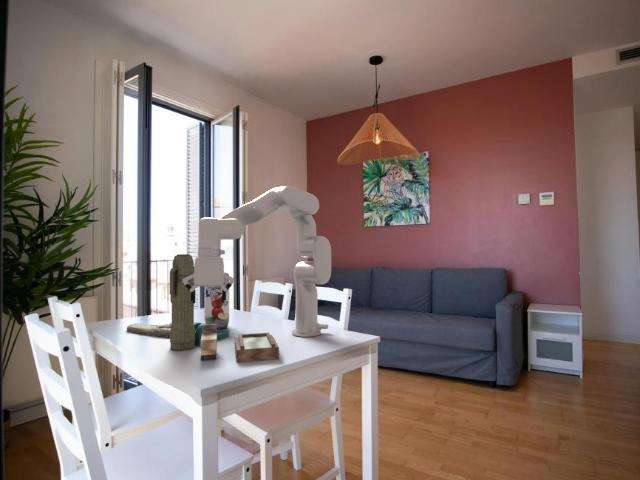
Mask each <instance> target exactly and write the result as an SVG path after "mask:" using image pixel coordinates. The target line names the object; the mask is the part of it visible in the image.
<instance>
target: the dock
mask: <svg viewBox="0 0 640 480" xmlns="http://www.w3.org/2000/svg"><path fill="white" fill-rule="evenodd" d="M234 353H235V362H236V363H244V362H245V363H247V362H259V361H271V360H275V361H276V360H280V347H279V345H278V342H277V341H276V339H275V338H274V336H273V334H270V332H255V333H254V332H253V333H240V334H238V336H235V337H234Z"/></svg>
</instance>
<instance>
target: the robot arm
mask: <svg viewBox="0 0 640 480" xmlns="http://www.w3.org/2000/svg"><path fill="white" fill-rule="evenodd" d="M280 209H284V210H285V213H287V214H288V215H289V216H290V217H291V219H292V220H293V221H294V223H295V228H296V252H297V255H298V256H299V257H300V258H305V259H313V260H311V261H310V260H303V261H299V262H297V264H295V266H294V267H293V279H294V284H295V329H293V330H291V335H293V336H296V337H302V338H311V337H312V338H313V337H317V336H320V335H321V333H322V330H328V329H329V324H327V323H326V324H325V323H319V322H318V296H319V294H318V289H317V286H316V285H324V284H327V283H328V282H329V281H330V278H331V276H332V275H331V274H332V246H331V243H330V241H329V240H328V238H327V237H325V236H322V235H317V224H316V222H315V219H314V217H313V216H312V215H314V214H316V213H318V211H319V209H320V202H319V199H318V198H317V196H315V195H314V194H312V193H310V192H307V191H305V190H303V189H301V188H298V187H295V186H291V185H284V186H278V187H274V188H272V189H270V190H268V191H266V192H265V193H263V194H261V195H260V196H258V197H257V198H255V199H253V200H252V201H250V202H247V203H245V204H243V205H241V206H239V207H237V208H235V209H233V210H230V211H229V212H227V213H225V214H223V215H222V216H220V217H218V218H215V217H202V218H200V219H199V221H198V233H197V235H198V248H197V257H195V261H194V274H192V275H190V276H188V277H186V278H184V279H183V280H182V281H183V283H184V285H185V287H186V288H187V289H188V290H189V291H190V292H191V301H193V304H194V305H195V303H196V289H197V288H198V287H205V286H220V287H221V288H222V289H223V291H222V303H224V300H226V291H227V290H228V289H229V290H230V289H231V287H232V285H233V284H234V282H235V278H234V277H232V276H230V275H229V276H228V275H226V274H224V272H225V265H224V263H225V262H224V259H223V258H224V257H221V256H222V255H225V253H226V250H223V249H221V247H222V245H221V244H222V241H223V240H228V241H229V240H231V241H232V240H237V239H239V238H241V237H242V236H243V235H244V233H245V227H246V226H250V225H253V224H258V223H260V222H263V221H264V220H266V219H267V218H269V217H270V216H272V215H273V214H275V213H277V212H278V211H279V210H280ZM192 278H193V282H194V285H193V287H191V286H190V285H189V283H188V280H190V279H192ZM224 278H226V279H228V280H229V284H228V285H227V286H226V287H225V285H224V284H223V283H224Z"/></svg>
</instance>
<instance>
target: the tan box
mask: <svg viewBox="0 0 640 480" xmlns="http://www.w3.org/2000/svg"><path fill="white" fill-rule="evenodd" d="M217 342H218V340H217V324H210V325H202V337H201V346H200V361H205V356H208V355H209V356H211V355H212V360H217V352H218V351H217V344H218V343H217Z"/></svg>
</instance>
